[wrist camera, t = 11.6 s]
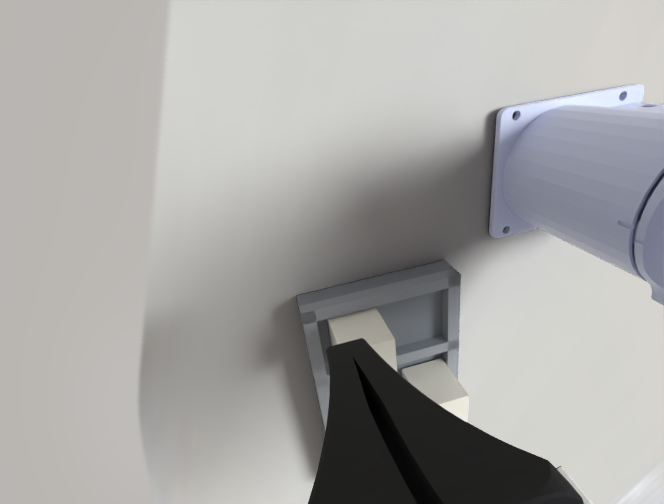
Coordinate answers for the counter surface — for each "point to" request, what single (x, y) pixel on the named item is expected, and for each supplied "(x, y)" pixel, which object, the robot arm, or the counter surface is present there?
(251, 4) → the counter surface
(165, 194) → the counter surface
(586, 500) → the ink box
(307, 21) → the counter surface
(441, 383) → the cream rectangular block
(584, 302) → the counter surface
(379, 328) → the off-white rectangular block
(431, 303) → the grey divided tray
